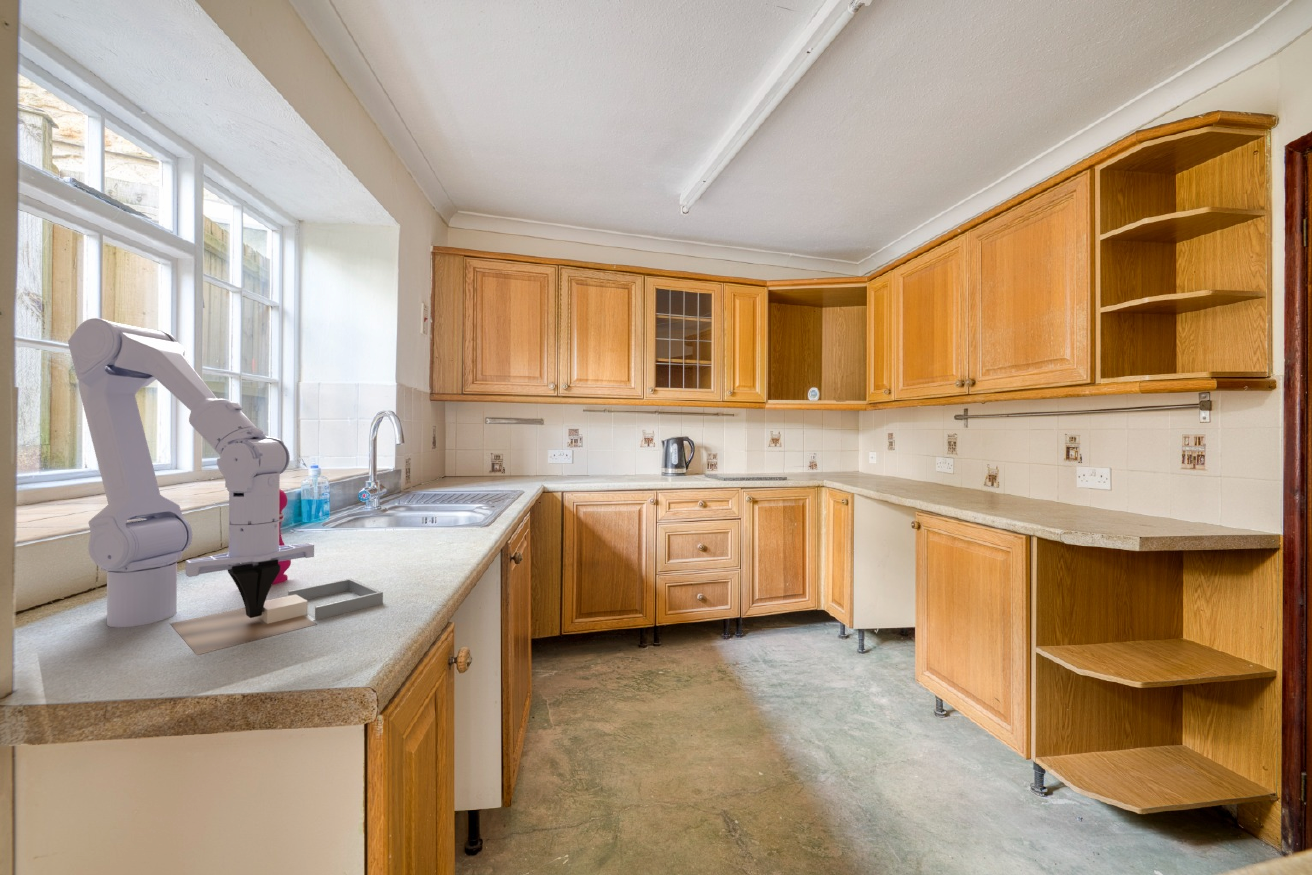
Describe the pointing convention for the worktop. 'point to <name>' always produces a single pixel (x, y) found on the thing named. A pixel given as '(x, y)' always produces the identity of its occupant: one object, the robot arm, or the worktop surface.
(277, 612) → the tile
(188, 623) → the board
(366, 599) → the box
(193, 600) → the worktop surface
